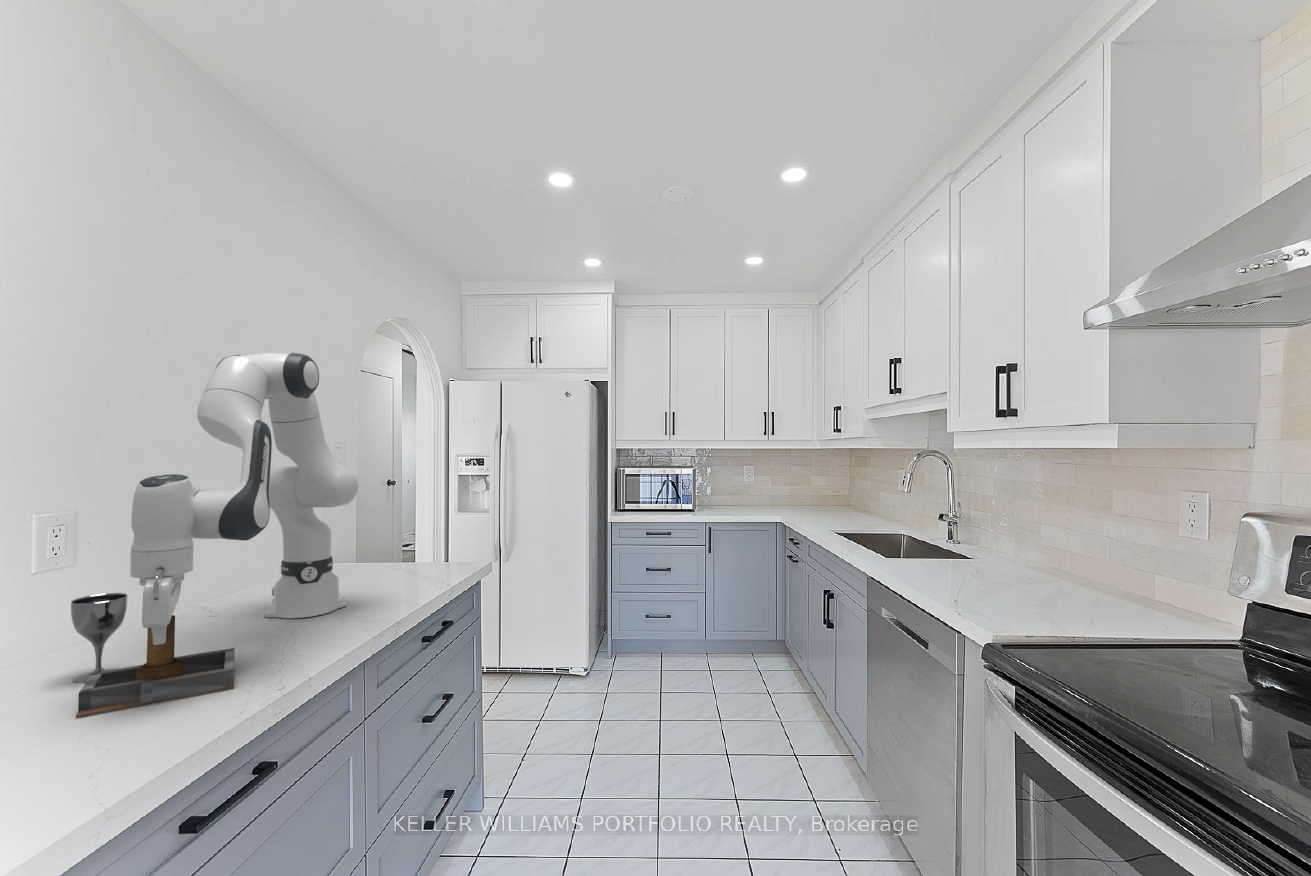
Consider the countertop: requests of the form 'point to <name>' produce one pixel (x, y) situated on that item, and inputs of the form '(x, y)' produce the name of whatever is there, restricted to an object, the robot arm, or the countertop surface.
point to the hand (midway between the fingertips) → (161, 639)
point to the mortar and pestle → (161, 657)
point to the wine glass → (98, 622)
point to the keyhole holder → (156, 684)
